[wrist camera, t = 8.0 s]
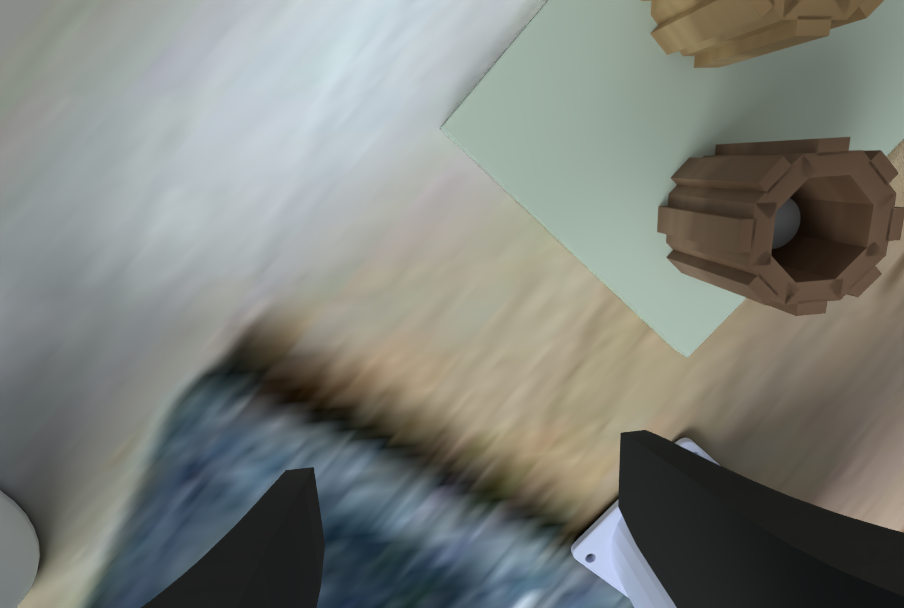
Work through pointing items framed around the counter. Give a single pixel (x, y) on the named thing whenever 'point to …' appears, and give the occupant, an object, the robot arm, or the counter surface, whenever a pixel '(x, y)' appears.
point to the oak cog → (747, 26)
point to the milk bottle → (16, 553)
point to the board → (661, 134)
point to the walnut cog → (753, 218)
